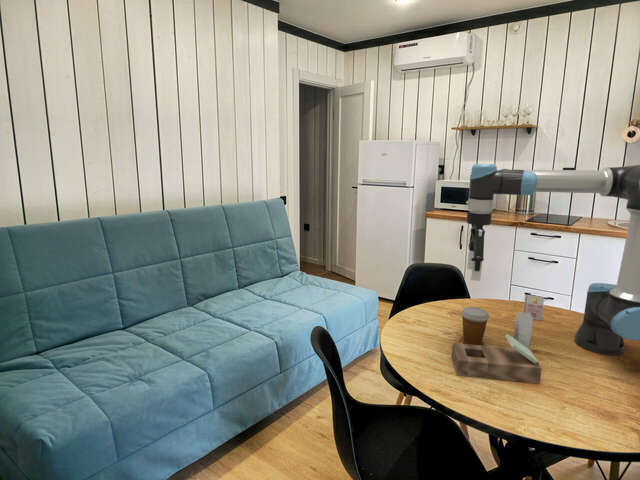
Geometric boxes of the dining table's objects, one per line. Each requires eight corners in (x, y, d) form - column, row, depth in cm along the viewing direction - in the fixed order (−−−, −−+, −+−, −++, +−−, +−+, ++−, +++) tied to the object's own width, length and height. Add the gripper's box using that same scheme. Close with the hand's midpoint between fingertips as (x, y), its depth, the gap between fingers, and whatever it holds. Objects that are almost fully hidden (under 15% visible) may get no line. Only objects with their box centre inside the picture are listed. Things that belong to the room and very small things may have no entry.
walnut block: (527, 364, 136) (529, 350, 135) (539, 383, 124) (541, 368, 123) (451, 356, 140) (452, 342, 139) (456, 375, 128) (458, 360, 127)
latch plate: (529, 353, 133) (531, 351, 133) (537, 365, 125) (539, 363, 125) (505, 335, 133) (507, 333, 133) (511, 347, 125) (514, 344, 125)
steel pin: (524, 350, 145) (529, 313, 142) (528, 356, 141) (533, 317, 138) (512, 349, 146) (517, 312, 143) (515, 354, 142) (520, 316, 139)
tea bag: (522, 315, 177) (525, 293, 175) (540, 318, 174) (543, 295, 172) (523, 318, 174) (526, 295, 172) (541, 321, 171) (544, 298, 169)
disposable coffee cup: (488, 349, 145) (492, 317, 143) (460, 346, 147) (463, 315, 145) (483, 337, 155) (487, 307, 152) (457, 335, 156) (460, 305, 154)
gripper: (464, 206, 148) (459, 264, 152) (471, 216, 124) (464, 284, 129) (486, 207, 146) (480, 265, 151) (497, 218, 122) (490, 286, 127)
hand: (473, 274), depth 140 cm, fingers open, 13 cm apart
